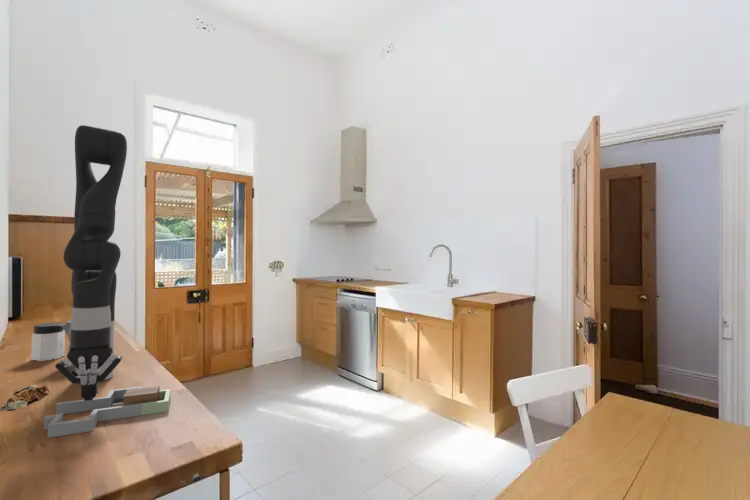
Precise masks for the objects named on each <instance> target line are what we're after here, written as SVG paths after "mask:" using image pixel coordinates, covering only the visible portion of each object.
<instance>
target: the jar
mask: <svg viewBox="0 0 750 500" xmlns="http://www.w3.org/2000/svg"><path fill="white" fill-rule="evenodd" d="M62 324H64V323H63V322H47V323H39V324H35V325H33V332H32V333H31V350H30V351H31V355H30V356H31V358H30V359H31V361H34V360H36V361H35V362H46V360H47V361H52V359H54V360H59V359H60V358H63V357H65V348H66V347H65V345H66V344H65V343H66V340H65V339H66V332H65V330H64V329H63V328H62V326H59V325H62ZM62 356H63V357H62Z"/></svg>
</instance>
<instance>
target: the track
mask: <svg viewBox="0 0 750 500" xmlns="http://www.w3.org/2000/svg"><path fill="white" fill-rule="evenodd" d="M137 388H145V386H143V385H142V386H136V387H135V386H134V387H126V388H119V389H118V388H117V389H110V390H109V392H108V393H107V395H106V396H103V397H94V398H93V400H87V401H84V399H79V400H70V401H63V402H57V403H56V405H55V406H56V407H55V414H50V415H45V416H44V417H43V430H47V439H50V438H56V437H62V436H70V435H75V434H83V433H88V432H93V431H94V429H95V427H96V426H97V424H98V422H104V421H113V420H118V419H119V420H120V419H125V418H132V417H139V416H146V415H153V414H154V415H155V414H161V413H166V412H169V408H170V402H171V392H172V391H171V388H169V389H168V388H166V389H160V395H159V401H155V402H147V403H140V404H132V405H124V406H123V396H124V394H125V393H126V391H127V390H128V389H137ZM88 411H89V412H90V411H91V413H90V414H89V416H88V418H80V419H74V420H65V421H64V415H66V414H75V413H82V412H88Z"/></svg>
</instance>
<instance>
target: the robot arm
mask: <svg viewBox="0 0 750 500" xmlns="http://www.w3.org/2000/svg"><path fill="white" fill-rule="evenodd" d="M127 145H128V142H127V137H126V136H125V134H124V133H122V132H118V131H115V130H110V129H105V128H100V127H95V126H92V125H91V126H90V125H79V126H78V127H77V128H76V131H75V135H74V161H75V183H76V184H75V185H76V186H75V202H74V217H73V218H74V219H73V221H74V223H73V224H74V226H73V228H74V230H73V234H72V236H71V237H70V239H69V241H68V243H67V245H66V246H65V248H64V252H63V262H64V264H65V266H66V267H67V268H69V270H72V274H71V284H70V285H71V289H70V290H71V293H72V294H71V295H72V310H71V316H70V320H71V322H70V327H71V334H70V341H69V343H70V344H69V345H70V351H69V353H68V354H67V353H66V357H67V358H66V357H65V358H64V359H62V360H60V361H58V362H57V363H56V364H55V365H54V366H55V368H56V370H58V371H59V372H60V374H61V375H63V376H64V377H65V378H66V379H67V380H68V381H69V382H70V383H71V384H74V385H75V384H78V385H80V386H81V389H80V390H81V393H80V397H81V400H84V401H87V400H93V398H96V396H97V395H98V390H99V389H98V388H99V387H98V384H99V382H102V381H106V380H109V379H111V378H112V377H114V369H115V368H116V367H118V365H119V364H120V363H121V362H122V360H123V356H122V355H117V354H115V353H114V352H115V312H116V311H115V310H116V309H115V306H116V304H115V303H116V293H117V280H118V279H117V272H116V270H117V267H118V265H119V262H120V260H121V259H120V258H121V254H122V253H121V248H120V247H119V245H118V244H117V243H116V242H114V241H112V240H110V239H111V237H112V236H113V234H114V232H115V224H116V206H117V205H116V204H117V198H118V193H119V191H120V187H121V182H122V178H123V175H124V171H125V170H124V169H125V166H126V160H127V153H128V152H127V151H128V146H127ZM91 164H97V165H98V164H99V165H104V166H109V168H108V170H107V171H106V173H105V174H104V175H103V176H102V177H101V178H100V179H99V180H98V181H97V179H96V177H95V174H94V171H93V169H92V165H91ZM70 361H71V362H72V364H73V365H74V366H73V367H75V370H74V369H73V368H72V366H71V363H70ZM70 366H71V367H70Z"/></svg>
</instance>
